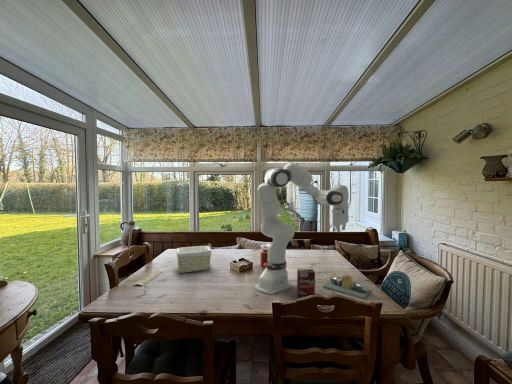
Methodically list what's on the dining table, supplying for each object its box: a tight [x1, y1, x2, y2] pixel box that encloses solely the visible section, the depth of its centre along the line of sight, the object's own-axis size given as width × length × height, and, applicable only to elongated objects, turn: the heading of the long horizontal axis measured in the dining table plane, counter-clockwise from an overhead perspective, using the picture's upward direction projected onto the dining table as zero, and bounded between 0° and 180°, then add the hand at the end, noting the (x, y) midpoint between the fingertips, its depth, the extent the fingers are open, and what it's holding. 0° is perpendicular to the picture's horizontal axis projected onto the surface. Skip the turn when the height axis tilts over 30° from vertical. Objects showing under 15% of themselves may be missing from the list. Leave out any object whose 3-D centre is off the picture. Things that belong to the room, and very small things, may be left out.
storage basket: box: [175, 245, 212, 274], centre depth 171 cm, size 24×16×15 cm
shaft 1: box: [329, 275, 342, 286], centre depth 143 cm, size 8×5×4 cm, turn 26°
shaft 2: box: [352, 281, 369, 293], centre depth 133 cm, size 8×5×4 cm, turn 51°
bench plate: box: [322, 279, 371, 300], centre depth 137 cm, size 13×23×1 cm, turn 51°
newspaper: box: [133, 269, 164, 287], centre depth 153 cm, size 24×7×2 cm, turn 172°
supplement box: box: [296, 268, 316, 299], centre depth 123 cm, size 9×5×16 cm, turn 93°
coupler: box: [341, 273, 354, 290], centre depth 137 cm, size 5×4×7 cm
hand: (341, 230), depth 153 cm, fingers open, 8 cm apart
